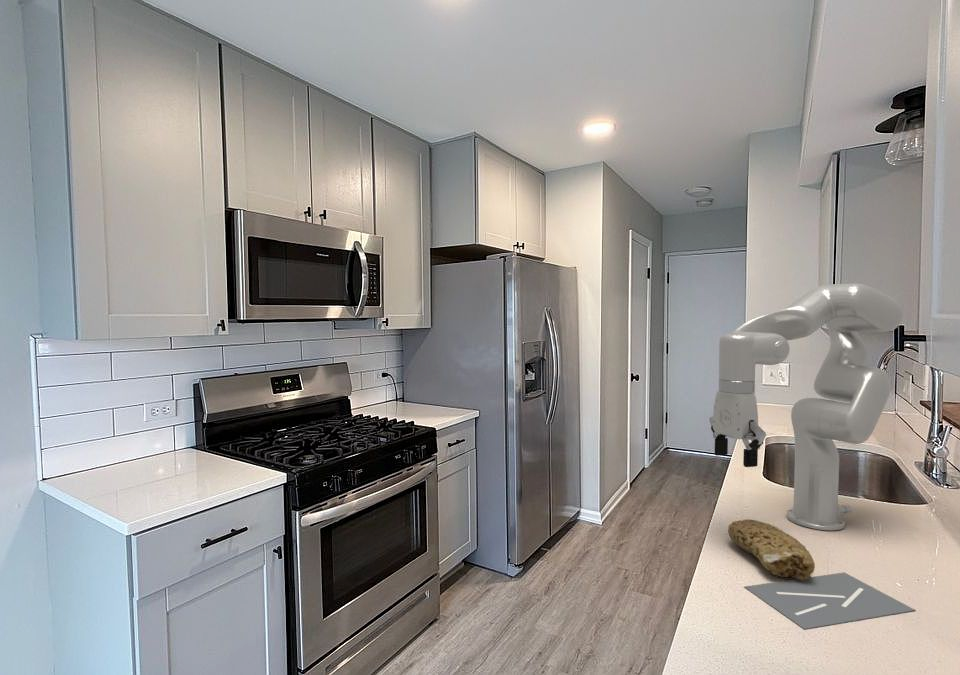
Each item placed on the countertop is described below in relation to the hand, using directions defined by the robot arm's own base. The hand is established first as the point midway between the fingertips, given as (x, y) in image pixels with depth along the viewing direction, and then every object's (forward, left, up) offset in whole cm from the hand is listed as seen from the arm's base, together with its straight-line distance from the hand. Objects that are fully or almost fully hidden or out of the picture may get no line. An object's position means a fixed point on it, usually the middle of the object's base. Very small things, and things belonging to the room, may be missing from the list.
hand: (735, 460), depth 121 cm
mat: (0, +25, -19) cm, 32 cm away
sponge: (-1, +10, -19) cm, 22 cm away
